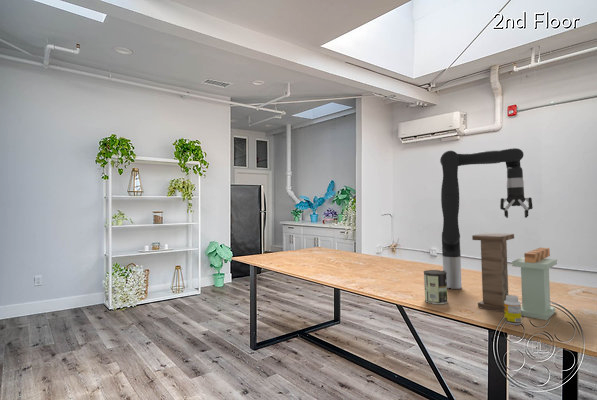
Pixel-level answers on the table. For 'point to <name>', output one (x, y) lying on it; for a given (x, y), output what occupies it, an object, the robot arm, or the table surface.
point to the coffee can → (435, 286)
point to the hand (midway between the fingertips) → (516, 217)
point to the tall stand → (494, 269)
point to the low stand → (535, 288)
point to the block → (537, 255)
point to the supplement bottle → (512, 310)
